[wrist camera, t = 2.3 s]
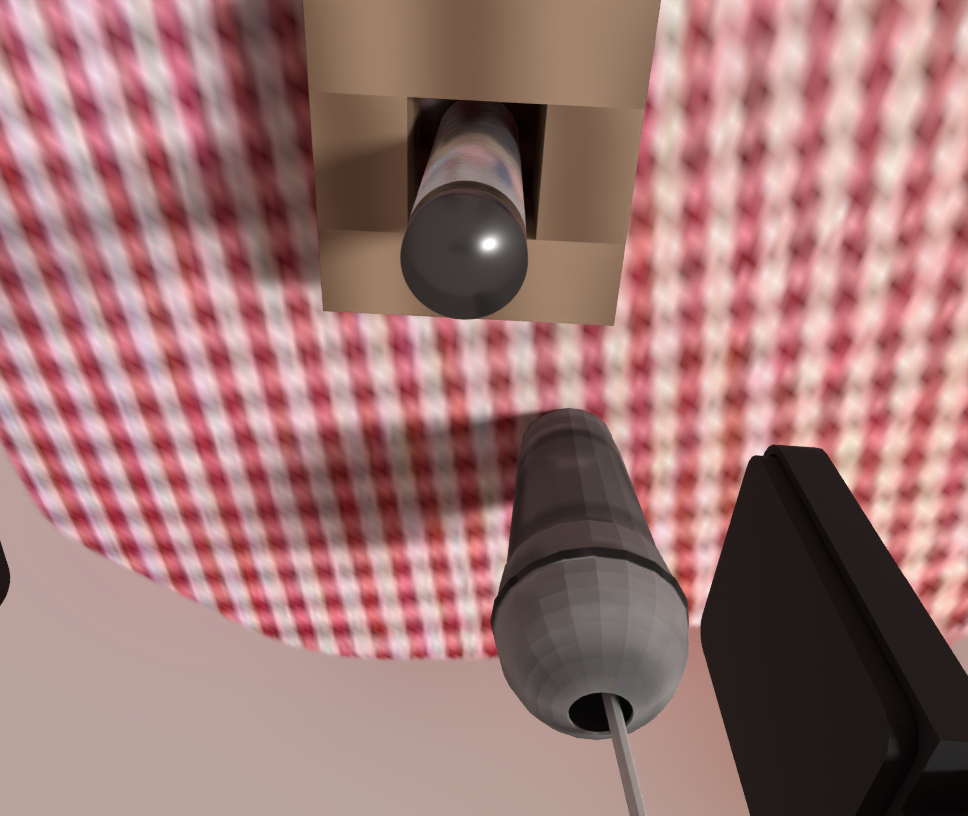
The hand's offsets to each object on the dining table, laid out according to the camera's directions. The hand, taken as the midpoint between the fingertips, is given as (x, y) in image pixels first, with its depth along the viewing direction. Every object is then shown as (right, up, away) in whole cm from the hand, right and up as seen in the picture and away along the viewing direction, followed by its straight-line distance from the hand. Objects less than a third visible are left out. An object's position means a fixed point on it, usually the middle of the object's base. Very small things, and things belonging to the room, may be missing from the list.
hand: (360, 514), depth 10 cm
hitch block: (+1, +12, +22) cm, 25 cm away
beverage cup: (+6, -1, +29) cm, 30 cm away
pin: (+1, +12, +22) cm, 25 cm away
